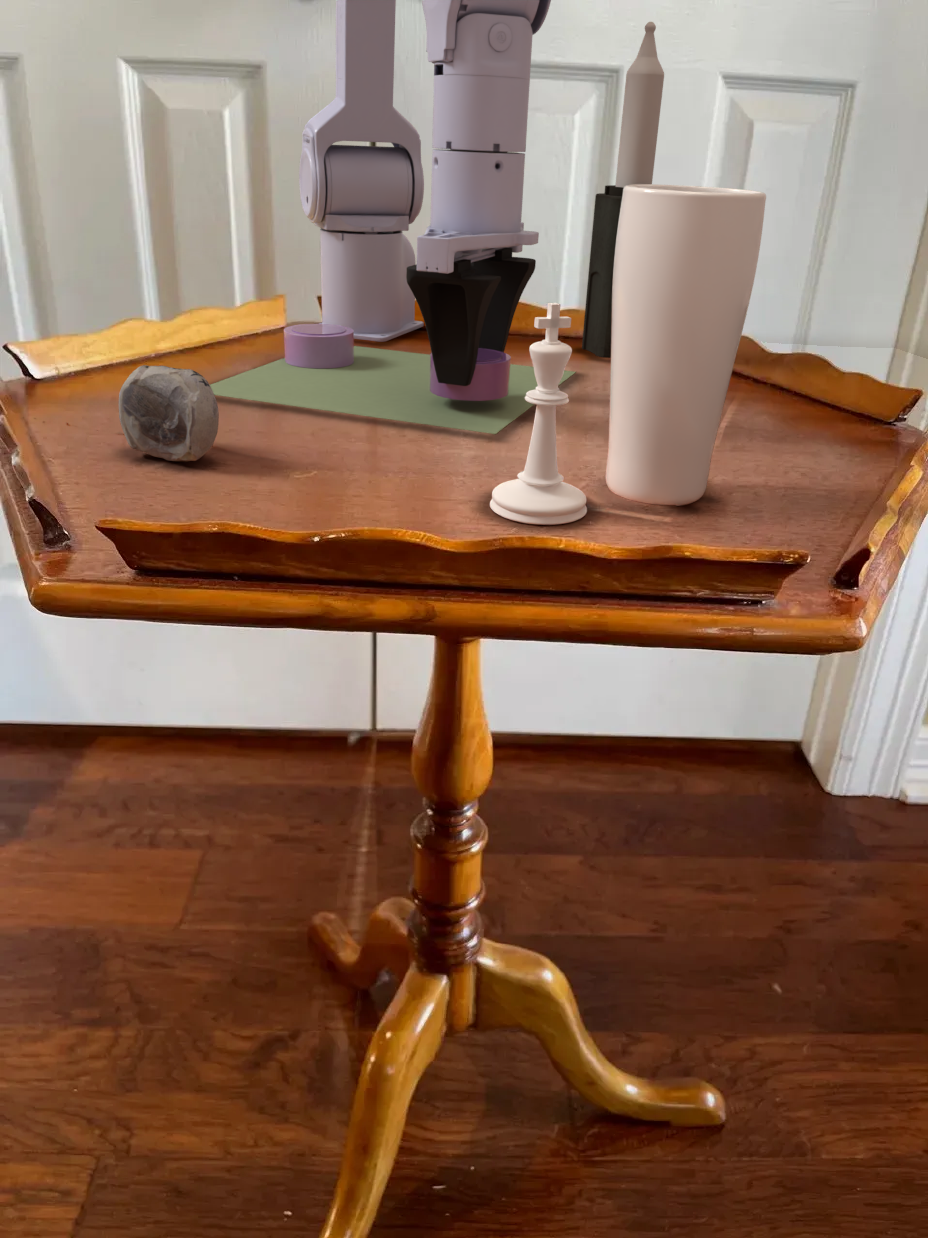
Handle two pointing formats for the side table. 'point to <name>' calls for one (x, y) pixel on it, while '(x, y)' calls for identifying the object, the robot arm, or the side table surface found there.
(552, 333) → the chess piece
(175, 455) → the fossil
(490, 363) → the mauve dish
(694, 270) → the drinking glass
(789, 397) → the side table surface
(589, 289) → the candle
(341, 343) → the lilac dish
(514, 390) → the placemat
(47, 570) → the side table surface
